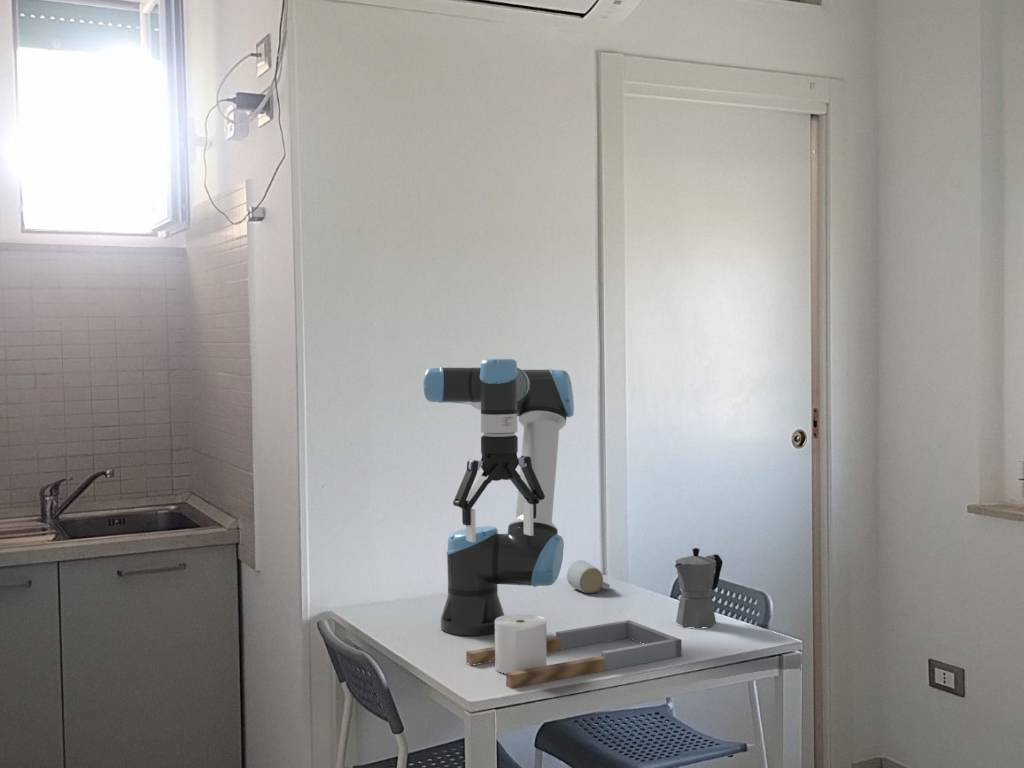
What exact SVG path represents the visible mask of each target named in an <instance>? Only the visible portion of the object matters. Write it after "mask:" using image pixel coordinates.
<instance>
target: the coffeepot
mask: <svg viewBox="0 0 1024 768" xmlns="http://www.w3.org/2000/svg"><path fill="white" fill-rule="evenodd" d="M691 551H692V554H693V555H689V556H684V557H683V556H681V557H679V558H678V559H676V560H675V564H674V567H675V568H676V572H677V579H678V586H679V589H681V595H680V596H679V600H678V601H679V603H678V608H677V615H676V620H675V622H677V623H678V624H680V625H682V626H686V627H694V628H702V627H710V628H712V627H711V626H713V625H714V624H715V623H717V620H716V615H715V609H714V604H713V598H712V597H711V590H715V589H717V588H718V584H719V580H720V577H721V576H720V575H721V572H722V567H723V559H722V558H721V557H720V555H719V554H710V555H706V556H701V555H699V553H700V548H697V547H695V548H692V549H691ZM677 623H676V624H677ZM678 624H677V625H678ZM680 625H679V626H680ZM682 626H681V627H682ZM714 626H715V625H714ZM714 626H713V627H714ZM686 627H685V628H686Z"/></svg>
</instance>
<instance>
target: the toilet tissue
mask: <svg viewBox="0 0 1024 768" xmlns="http://www.w3.org/2000/svg"><path fill="white" fill-rule="evenodd" d="M504 615H505V616H500V617H498V618H496V619H495V633H494V647H495V662H494V668H495V670H496V671H497V672H498V673H500V672H501V674H503V673H504V675H506V673H508V672H513V671H519V670H524V669H530V668H535V667H541V666H547V665H548V663H547V662H548V659H547V653H548V652H547V647H546V645H547V643H546V642H547V640H546V638H548V637H547V619H546V618H545V617H543V616H540V615H537V614H529V613H513V614H504Z"/></svg>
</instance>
